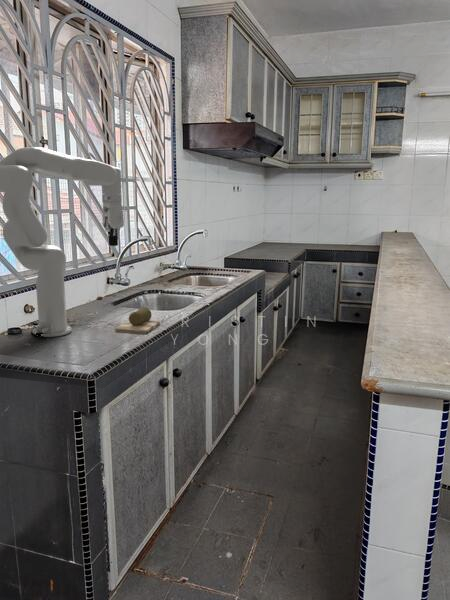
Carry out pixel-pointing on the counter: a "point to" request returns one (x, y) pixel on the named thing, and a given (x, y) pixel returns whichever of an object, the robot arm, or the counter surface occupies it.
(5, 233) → the robot arm
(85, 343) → the counter surface
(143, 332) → the cutting board
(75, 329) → the counter surface
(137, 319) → the olive pepper shaker
